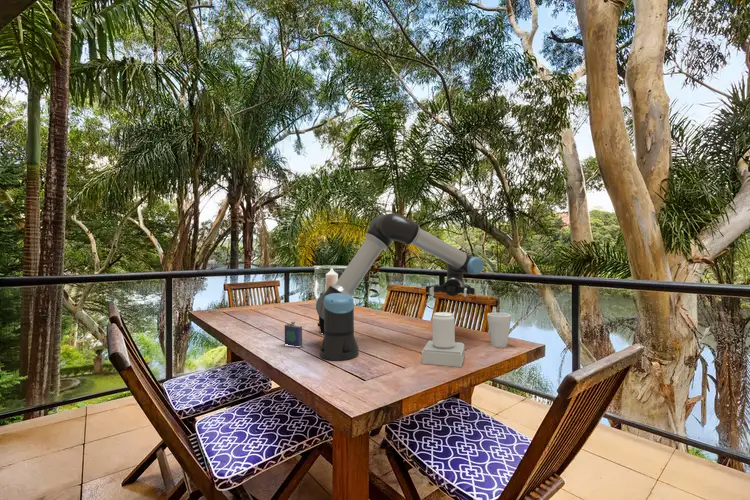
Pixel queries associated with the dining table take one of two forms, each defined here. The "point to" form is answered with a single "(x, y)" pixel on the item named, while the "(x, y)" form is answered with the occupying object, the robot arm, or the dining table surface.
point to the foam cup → (499, 328)
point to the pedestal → (443, 355)
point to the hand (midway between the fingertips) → (447, 292)
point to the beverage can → (443, 330)
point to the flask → (293, 334)
